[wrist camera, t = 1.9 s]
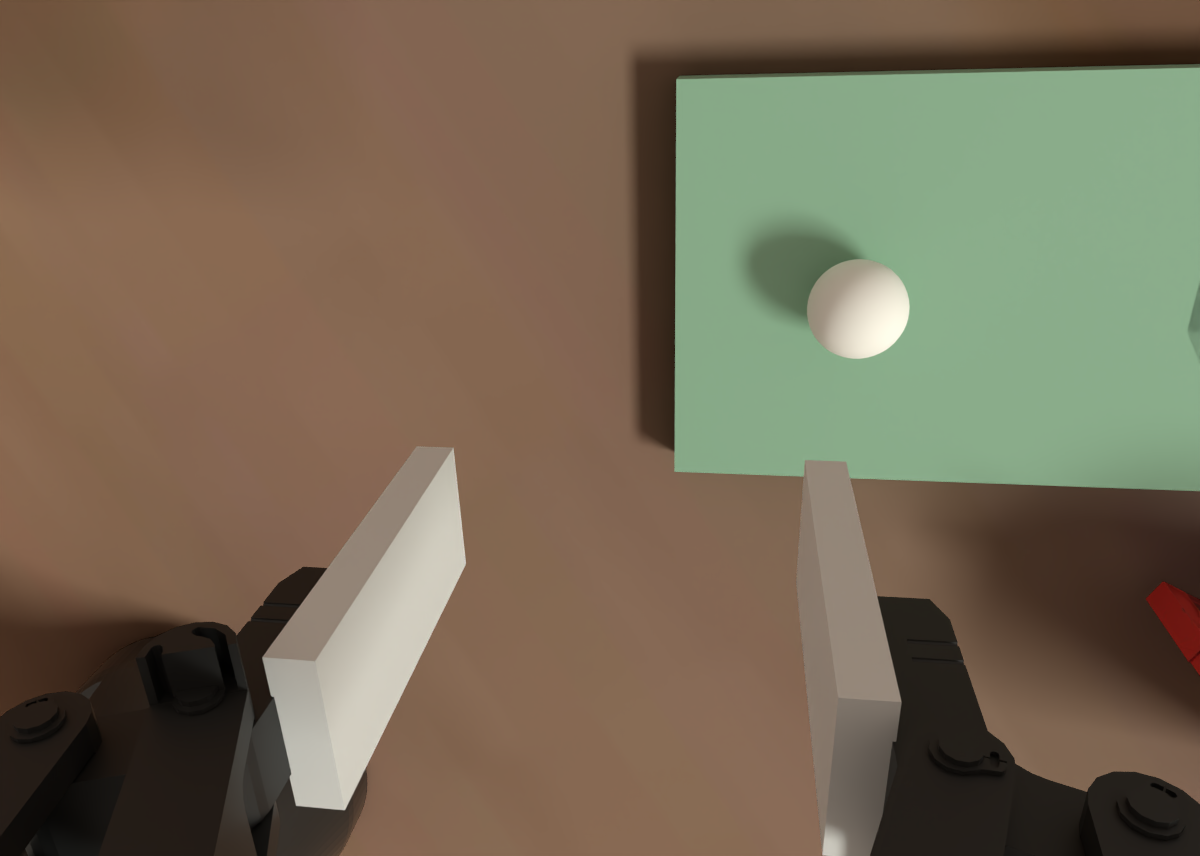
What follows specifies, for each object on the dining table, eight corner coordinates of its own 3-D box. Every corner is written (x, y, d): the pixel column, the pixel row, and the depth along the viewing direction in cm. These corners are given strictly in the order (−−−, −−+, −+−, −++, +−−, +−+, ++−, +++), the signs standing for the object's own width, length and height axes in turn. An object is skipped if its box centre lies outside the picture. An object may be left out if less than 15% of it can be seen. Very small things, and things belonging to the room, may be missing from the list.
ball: (801, 339, 32) (807, 372, 29) (807, 248, 31) (814, 273, 28) (895, 340, 32) (911, 374, 29) (905, 248, 30) (923, 274, 27)
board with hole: (677, 452, 36) (671, 496, 33) (679, 75, 30) (672, 84, 27) (1468, 480, 32) (1549, 533, 29) (1645, 54, 27) (1770, 61, 23)
